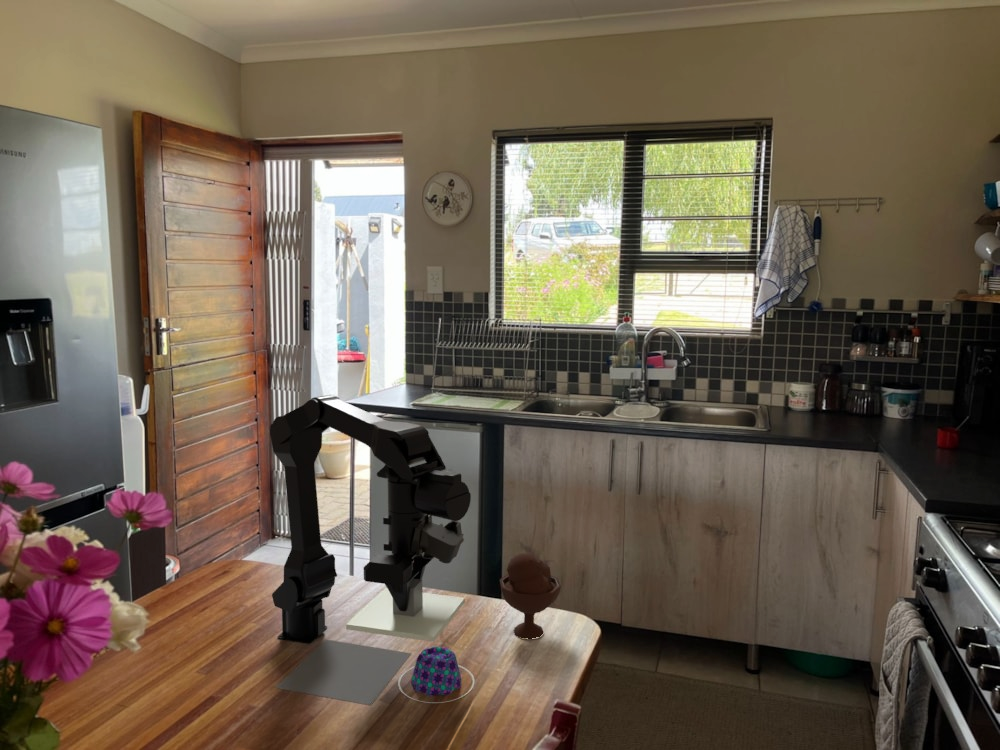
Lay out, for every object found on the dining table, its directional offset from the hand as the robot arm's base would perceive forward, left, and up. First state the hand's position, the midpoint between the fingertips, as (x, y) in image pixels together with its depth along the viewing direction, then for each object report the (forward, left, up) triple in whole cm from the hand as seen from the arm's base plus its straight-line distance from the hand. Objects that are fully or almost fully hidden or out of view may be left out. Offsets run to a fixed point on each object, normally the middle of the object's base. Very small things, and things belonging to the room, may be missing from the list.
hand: (408, 605), depth 117 cm
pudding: (+5, +1, -13) cm, 14 cm away
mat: (-10, 0, -13) cm, 16 cm away
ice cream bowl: (+15, +22, -13) cm, 29 cm away
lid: (0, 0, -2) cm, 2 cm away
